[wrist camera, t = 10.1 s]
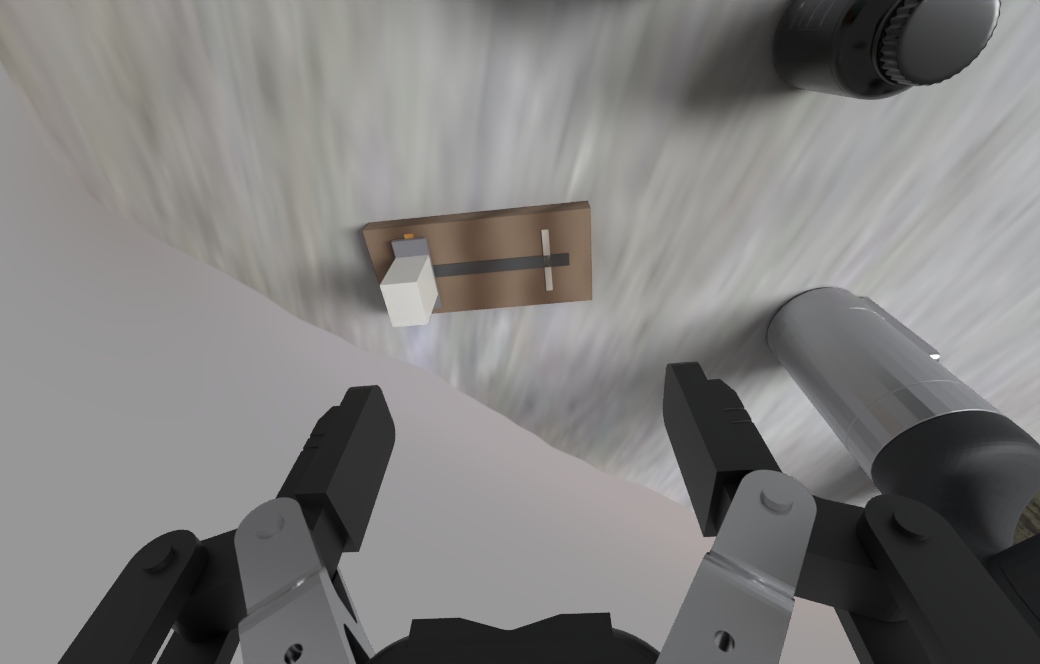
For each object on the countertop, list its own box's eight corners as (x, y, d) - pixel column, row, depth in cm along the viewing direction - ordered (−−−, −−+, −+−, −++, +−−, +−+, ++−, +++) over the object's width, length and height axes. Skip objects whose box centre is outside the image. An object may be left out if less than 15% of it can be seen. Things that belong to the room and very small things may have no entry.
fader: (425, 236, 39) (412, 264, 34) (442, 305, 43) (431, 338, 38) (392, 240, 39) (374, 268, 35) (411, 307, 43) (397, 341, 38)
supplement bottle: (888, 28, 32) (1049, 25, 22) (801, 108, 35) (909, 137, 25) (839, -52, 30) (995, -95, 20) (750, 41, 33) (847, 45, 23)
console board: (587, 200, 39) (590, 208, 38) (589, 289, 44) (592, 300, 43) (369, 222, 41) (362, 231, 39) (394, 306, 46) (389, 317, 44)
